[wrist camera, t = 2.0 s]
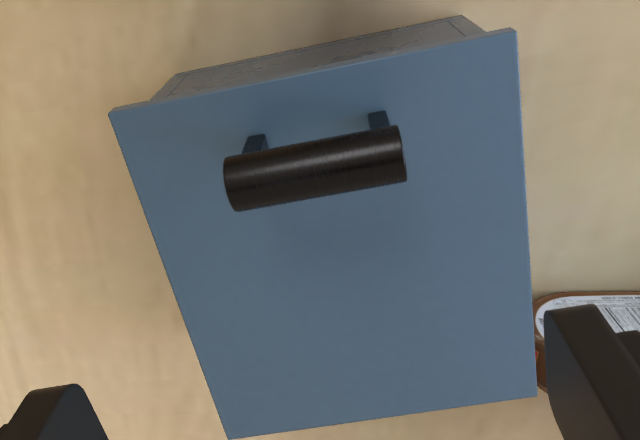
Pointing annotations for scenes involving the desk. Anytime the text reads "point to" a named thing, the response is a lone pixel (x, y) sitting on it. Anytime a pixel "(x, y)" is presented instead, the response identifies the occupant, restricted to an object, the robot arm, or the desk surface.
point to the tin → (615, 306)
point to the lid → (347, 234)
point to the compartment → (319, 55)
